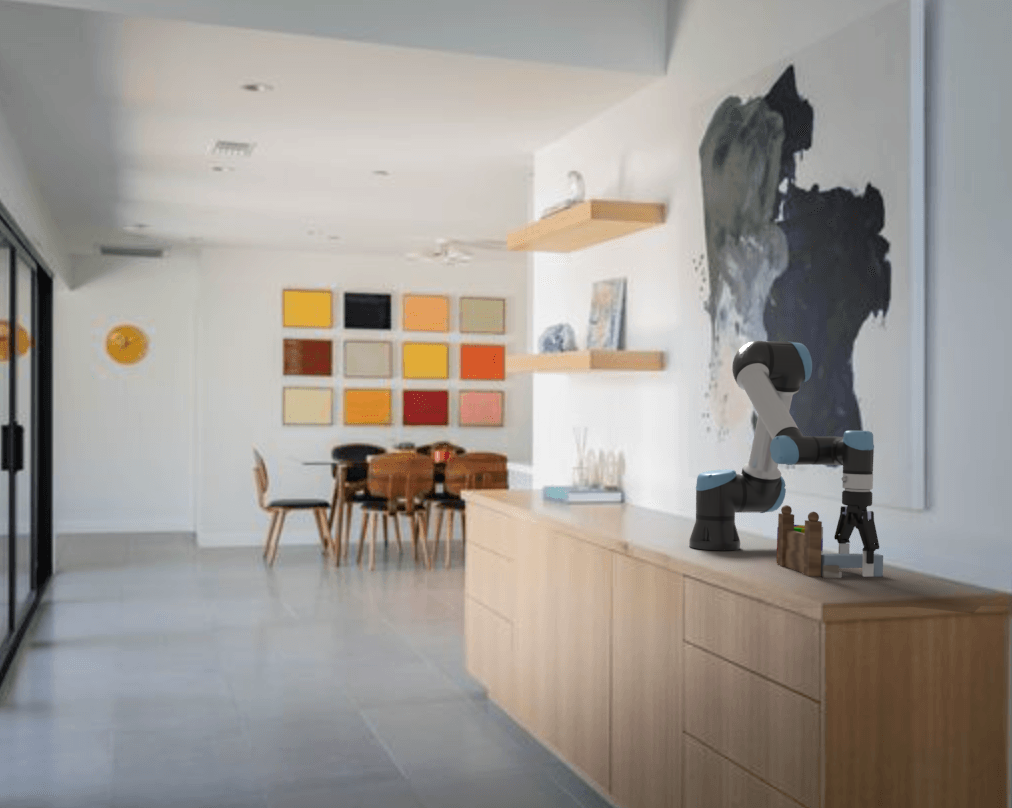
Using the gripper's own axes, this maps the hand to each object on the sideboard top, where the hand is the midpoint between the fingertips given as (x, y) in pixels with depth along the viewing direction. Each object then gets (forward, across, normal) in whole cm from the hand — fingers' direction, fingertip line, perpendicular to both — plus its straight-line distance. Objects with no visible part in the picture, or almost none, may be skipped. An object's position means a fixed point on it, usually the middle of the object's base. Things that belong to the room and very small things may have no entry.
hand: (855, 572), depth 302 cm
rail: (+1, 0, -1) cm, 2 cm away
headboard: (+1, -8, -10) cm, 12 cm away
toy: (+1, -23, -5) cm, 23 cm away
